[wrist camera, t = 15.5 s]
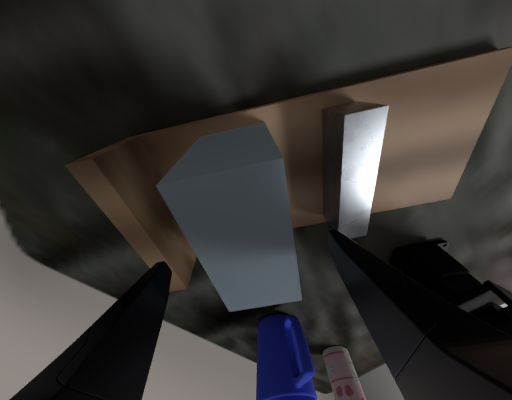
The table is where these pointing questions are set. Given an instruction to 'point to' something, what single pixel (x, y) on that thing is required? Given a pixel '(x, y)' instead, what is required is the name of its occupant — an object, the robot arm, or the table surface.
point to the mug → (283, 360)
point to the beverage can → (342, 374)
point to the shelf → (308, 151)
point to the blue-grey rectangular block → (237, 215)
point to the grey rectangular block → (351, 163)
